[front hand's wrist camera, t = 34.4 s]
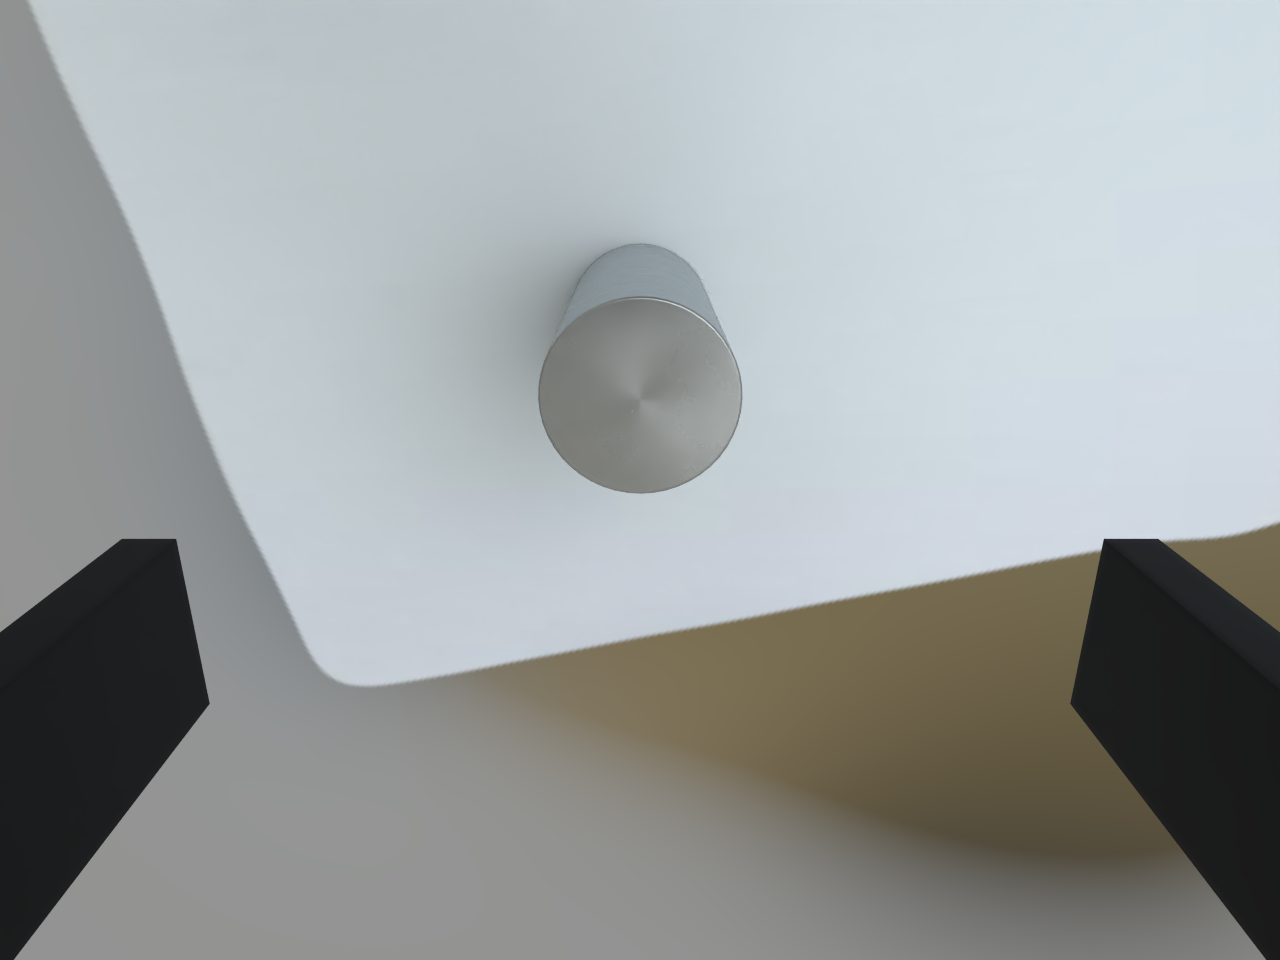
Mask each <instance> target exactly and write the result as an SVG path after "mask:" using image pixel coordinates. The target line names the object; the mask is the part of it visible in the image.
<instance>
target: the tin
mask: <svg viewBox="0 0 1280 960" xmlns="http://www.w3.org/2000/svg"><path fill="white" fill-rule="evenodd" d="M538 399H539V408H540V414H541V418H542V422H543V425H544V428H545V430H546V433H547V435H548V437H549V439H550V441H551V443H552V445H553V446H554V448H555V449H556V451H557V452H558V453H559V455H560V456H561V457H562V458H563V459H564V460H565V461H566V462H567V464H568V465H569V466H570V467H572V468H573V469H574V470H575V471H577V472H578V473H579V474H580V475H582V476H584V477H585V478H587V479H588V480H590V481H592V482H594V483H596V484H599V485H601V486H603V487H606V488H609V489H612V490H616V491H622V492H627V493H654V492H659V491H665V490H668V489H671V488H675V487H678V486H680V485H682V484H684V483H687V482H689V481H691V480H692V479H694V478H695V477H697V476H699V475H700V474H702V473H703V472H704V471H705V470H707V469H708V468H709V467H710V466H711V465H712V464H713V463H714V462H715V461H716V460H717V459H718V458H719V457H720V456H721V454H722V453H723V452H724V450H725V449H726V447H727V446H728V444H729V442H730V440H731V439H732V437H733V435H734V432H735V430H736V427H737V425H738V421H739V417H740V413H741V406H742V383H741V377H740V372H739V368H738V365H737V362H736V359H735V357H734V355H733V352H732V350H731V348H730V345H729V343H728V341H727V339H726V336H725V334H724V332H723V329H722V327H721V325H720V323H719V320H718V318H717V316H716V314H715V311H714V309H713V307H712V304H711V302H710V300H709V298H708V295H707V293H706V291H705V288H704V286H703V284H702V282H701V280H700V278H699V277H698V275H697V273H696V272H695V271H694V270H693V268H692V267H691V266H690V265H689V264H688V263H687V262H686V261H685V260H684V259H682V258H681V257H679V256H678V255H676V254H675V253H673V252H671V251H669V250H667V249H664V248H661V247H658V246H653V245H647V244H634V245H627V246H622V247H619V248H616V249H614V250H611V251H610V252H608V253H606V254H604V255H603V256H601V257H600V258H598V259H597V260H596V261H595V262H594V263H593V264H591V265H590V267H589V268H588V269H587V270H586V271H585V273H584V274H583V276H582V277H581V279H580V281H579V283H578V285H577V287H576V290H575V292H574V294H573V296H572V299H571V301H570V303H569V306H568V308H567V310H566V313H565V315H564V317H563V319H562V322H561V324H560V326H559V329H558V331H557V333H556V336H555V338H554V340H553V342H552V345H551V347H550V349H549V352H548V354H547V356H546V359H545V361H544V364H543V368H542V371H541V375H540V381H539V397H538Z"/></svg>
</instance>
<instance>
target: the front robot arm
mask: <svg viewBox="0 0 1280 960" xmlns="http://www.w3.org/2000/svg"><path fill="white" fill-rule="evenodd" d="M209 704H210V703H209V698H208V694H207V689H206V684H205V679H204V674H203V669H202V664H201V659H200V654H199V649H198V644H197V640H196V635H195V630H194V625H193V620H192V615H191V610H190V605H189V600H188V595H187V590H186V586H185V580H184V576H183V571H182V566H181V561H180V556H179V551H178V546H177V541H176V539H121V540H120V541H119V542H117V543H116V544H115V545H113V546H112V547H111V548H109V549H108V550H107V551H106V552H104V553H103V554H102V555H100V556H99V557H98V558H96V559H95V560H94V561H93V562H91V563H90V564H89V565H87V566H86V567H85V568H84V569H82V570H81V571H80V572H78V573H77V574H76V575H74V576H73V577H72V578H70V579H69V580H68V581H67V582H65V583H64V584H63V585H61V586H60V587H59V588H57V589H56V590H55V591H53V592H52V593H51V594H50V595H48V596H47V597H46V598H44V599H43V600H42V601H41V602H39V603H38V604H37V605H35V606H34V607H33V608H31V609H30V610H29V611H27V612H26V613H25V614H24V615H22V616H21V617H20V618H18V619H17V620H16V621H14V622H13V623H12V624H11V625H9V626H8V627H7V628H5V629H4V630H3V631H1V632H0V960H14V959H15V957H16V956H17V955H18V953H19V952H20V951H21V949H22V948H23V947H24V946H25V944H26V943H27V942H28V940H29V939H30V938H31V936H32V935H33V934H34V932H35V931H36V930H37V929H38V927H39V926H40V925H41V923H42V922H43V921H44V919H45V918H46V917H47V916H48V914H49V913H50V912H51V910H52V909H53V908H54V906H55V905H56V904H57V902H58V901H59V900H60V899H61V897H62V896H63V895H64V893H65V892H66V891H67V889H68V888H69V887H70V885H71V884H72V883H73V882H74V880H75V879H76V878H77V876H78V875H79V874H80V872H81V871H82V870H83V868H84V867H85V866H86V865H87V863H88V862H89V861H90V859H91V858H92V857H93V855H94V854H95V853H96V851H97V850H98V849H99V848H100V846H101V845H102V844H103V842H104V841H105V840H106V838H107V837H108V836H109V834H110V833H111V832H112V831H113V829H114V828H115V827H116V825H117V824H118V823H119V821H120V820H121V819H122V817H123V816H124V815H125V814H126V812H127V811H128V810H129V808H130V807H131V806H132V804H133V803H134V802H135V801H136V799H137V798H138V797H139V795H140V794H141V793H142V791H143V790H144V789H145V787H146V786H147V785H148V784H149V782H150V781H151V780H152V778H153V777H154V776H155V774H156V773H157V772H158V770H159V769H160V768H161V767H162V765H163V764H164V763H165V761H166V760H167V759H168V757H169V756H170V755H171V753H172V752H173V751H174V750H175V748H176V747H177V746H178V744H179V743H180V742H181V740H182V739H183V738H184V736H185V735H186V734H187V733H188V731H189V730H190V729H191V727H192V726H193V725H194V723H195V722H196V721H197V719H198V718H199V717H200V715H201V714H202V713H203V712H204V710H205V709H206V708H207V706H208V705H209ZM1071 705H1072V706H1073V708H1074V709H1075V710H1076V712H1077V713H1078V714H1079V716H1080V717H1081V718H1082V719H1083V721H1084V722H1085V723H1086V725H1087V726H1088V727H1089V729H1090V730H1091V731H1092V733H1093V734H1094V735H1095V736H1096V738H1097V739H1098V740H1099V742H1100V743H1101V744H1102V746H1103V747H1104V748H1105V750H1106V751H1107V752H1108V753H1109V755H1110V756H1111V757H1112V759H1113V760H1114V761H1115V763H1116V764H1117V765H1118V766H1119V768H1120V769H1121V770H1122V772H1123V773H1124V774H1125V776H1126V777H1127V778H1128V780H1129V781H1130V782H1131V784H1132V785H1133V786H1134V787H1135V789H1136V790H1137V791H1138V793H1139V794H1140V795H1141V797H1142V798H1143V799H1144V801H1145V802H1146V803H1147V804H1148V806H1149V807H1150V808H1151V810H1152V811H1153V812H1154V814H1155V815H1156V816H1157V818H1158V819H1159V820H1160V821H1161V823H1162V824H1163V825H1164V827H1165V828H1166V829H1167V831H1168V832H1169V833H1170V834H1171V836H1172V837H1173V838H1174V840H1175V841H1176V842H1177V844H1178V845H1179V846H1180V848H1181V849H1182V850H1183V851H1184V853H1185V854H1186V855H1187V857H1188V858H1189V859H1190V861H1191V862H1192V863H1193V865H1194V866H1195V867H1196V868H1197V870H1198V871H1199V872H1200V874H1201V875H1202V876H1203V878H1204V879H1205V880H1206V881H1207V883H1208V884H1209V885H1210V887H1211V888H1212V889H1213V891H1214V892H1215V893H1216V895H1217V896H1218V897H1219V898H1220V900H1221V901H1222V902H1223V904H1224V905H1225V906H1226V908H1227V909H1228V910H1229V912H1230V913H1231V914H1232V916H1233V917H1234V918H1235V919H1236V921H1237V922H1238V923H1239V925H1240V926H1241V927H1242V929H1243V930H1244V931H1245V932H1246V934H1247V935H1248V936H1249V938H1250V939H1251V940H1252V942H1253V943H1254V944H1255V946H1256V947H1257V948H1258V950H1259V951H1260V952H1261V953H1262V955H1263V956H1264V957H1265V959H1266V960H1280V632H1279V631H1277V630H1276V629H1275V628H1273V627H1272V626H1271V625H1269V624H1268V623H1267V622H1266V621H1264V620H1263V619H1262V618H1260V617H1259V616H1258V615H1256V614H1255V613H1254V612H1253V611H1251V610H1250V609H1249V608H1247V607H1246V606H1245V605H1243V604H1242V603H1241V602H1239V601H1238V600H1237V599H1236V598H1234V597H1233V596H1232V595H1230V594H1229V593H1228V592H1227V591H1225V590H1224V589H1223V588H1221V587H1220V586H1219V585H1217V584H1216V583H1215V582H1213V581H1212V580H1211V579H1210V578H1208V577H1207V576H1206V575H1204V574H1203V573H1202V572H1200V571H1199V570H1198V569H1197V568H1195V567H1194V566H1193V565H1191V564H1190V563H1189V562H1187V561H1186V560H1185V559H1184V558H1182V557H1181V556H1180V555H1178V554H1177V553H1176V552H1174V551H1173V550H1172V549H1171V548H1169V547H1168V546H1167V545H1165V544H1164V543H1163V542H1161V541H1160V540H1159V539H1104V541H1103V546H1102V551H1101V556H1100V561H1099V566H1098V571H1097V576H1096V581H1095V585H1094V590H1093V595H1092V600H1091V605H1090V610H1089V615H1088V620H1087V625H1086V630H1085V635H1084V640H1083V644H1082V649H1081V654H1080V659H1079V664H1078V669H1077V674H1076V679H1075V684H1074V689H1073V693H1072V699H1071Z"/></svg>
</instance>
